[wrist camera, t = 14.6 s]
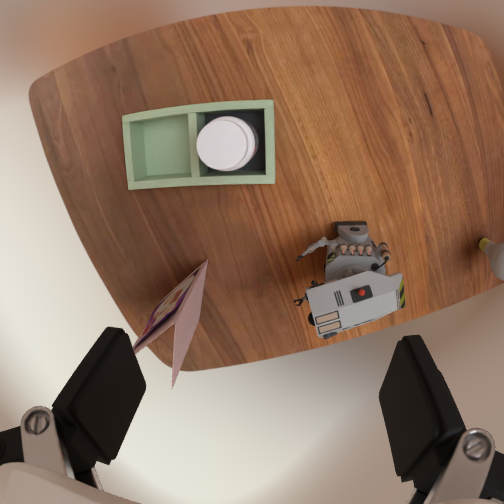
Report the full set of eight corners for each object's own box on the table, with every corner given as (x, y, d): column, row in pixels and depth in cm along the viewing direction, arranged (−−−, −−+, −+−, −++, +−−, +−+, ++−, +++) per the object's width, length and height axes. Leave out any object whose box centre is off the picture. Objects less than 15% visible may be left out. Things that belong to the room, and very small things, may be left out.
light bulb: (488, 258, 37) (520, 287, 28) (466, 257, 38) (499, 288, 29) (495, 227, 35) (532, 252, 26) (474, 225, 36) (510, 251, 27)
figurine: (291, 222, 39) (297, 276, 25) (375, 220, 37) (419, 271, 24) (292, 282, 42) (296, 354, 29) (369, 279, 41) (401, 346, 27)
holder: (138, 115, 34) (121, 115, 30) (274, 103, 33) (273, 99, 28) (143, 182, 38) (128, 190, 34) (275, 177, 36) (275, 183, 32)
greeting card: (203, 254, 42) (169, 316, 28) (239, 289, 43) (222, 360, 30) (157, 296, 46) (117, 359, 32) (191, 326, 47) (163, 394, 34)
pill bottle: (258, 164, 35) (251, 177, 26) (213, 163, 36) (190, 176, 27) (260, 118, 33) (253, 115, 24) (213, 118, 33) (190, 115, 24)
